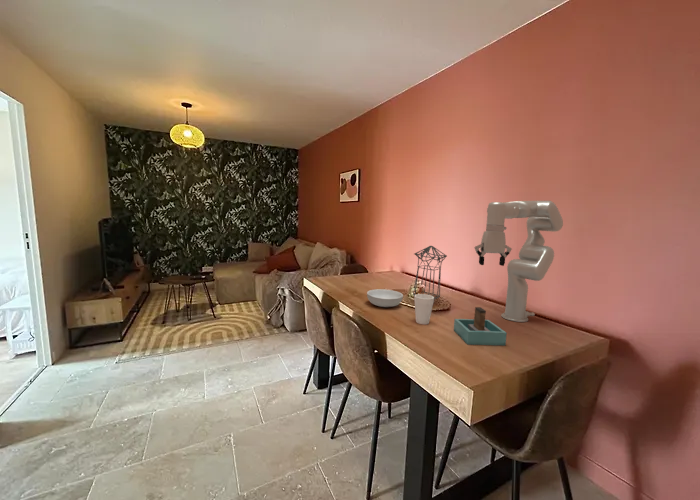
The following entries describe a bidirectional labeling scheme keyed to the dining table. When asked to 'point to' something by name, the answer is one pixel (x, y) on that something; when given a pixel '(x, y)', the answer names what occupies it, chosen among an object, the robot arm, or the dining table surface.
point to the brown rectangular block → (479, 318)
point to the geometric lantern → (429, 267)
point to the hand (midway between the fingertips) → (491, 265)
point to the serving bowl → (384, 297)
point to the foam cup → (423, 308)
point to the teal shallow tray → (479, 333)
